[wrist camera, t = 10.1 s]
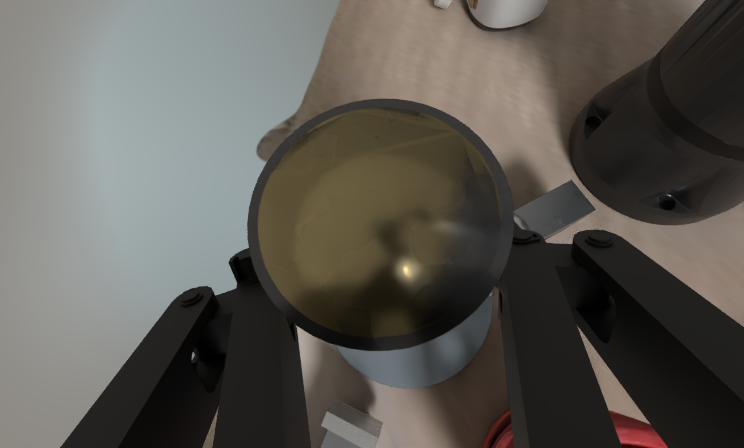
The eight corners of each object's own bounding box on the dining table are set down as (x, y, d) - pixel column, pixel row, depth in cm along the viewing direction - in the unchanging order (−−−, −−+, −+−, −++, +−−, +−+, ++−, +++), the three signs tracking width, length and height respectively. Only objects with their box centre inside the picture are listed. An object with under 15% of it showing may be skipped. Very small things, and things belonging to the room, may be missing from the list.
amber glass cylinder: (418, 205, 20) (431, 41, 9) (481, 310, 18) (613, 272, 6) (316, 258, 20) (191, 159, 8) (368, 372, 17) (293, 449, 6)
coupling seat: (434, 195, 33) (435, 189, 32) (522, 333, 28) (528, 334, 27) (302, 264, 32) (297, 261, 31) (369, 418, 28) (368, 423, 26)
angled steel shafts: (523, 185, 32) (545, 158, 27) (573, 220, 31) (607, 198, 26) (293, 452, 27) (265, 481, 22) (338, 509, 26) (321, 555, 21)
